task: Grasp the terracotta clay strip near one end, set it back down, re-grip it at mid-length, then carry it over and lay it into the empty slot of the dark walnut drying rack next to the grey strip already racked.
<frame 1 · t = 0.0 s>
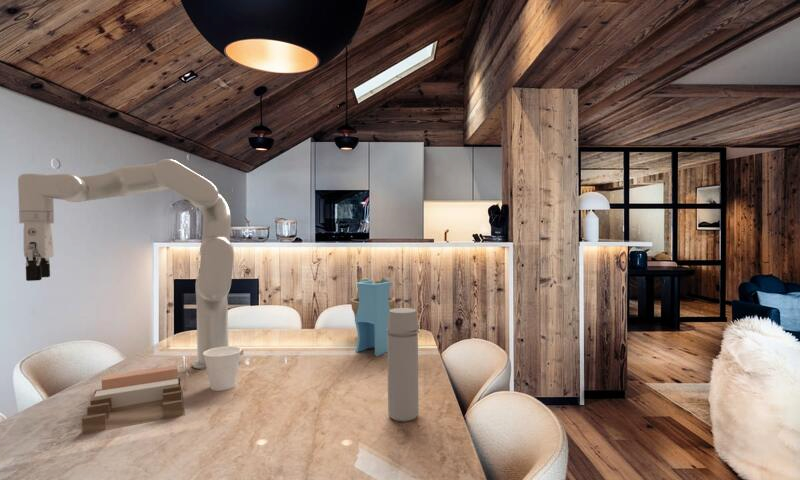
hand: (38, 278, 122), 31 cm above the table, fingers open, 9 cm apart
terracotta strip: (141, 390, 122), on the table
rack: (137, 413, 105), on the table
potted plant: (373, 336, 180), on the table
water bottle: (405, 415, 103), on the table
blue arched stand: (374, 351, 158), on the table
cup: (223, 391, 120), on the table
grey strip: (138, 400, 110), point 1 cm above the table, touching rack
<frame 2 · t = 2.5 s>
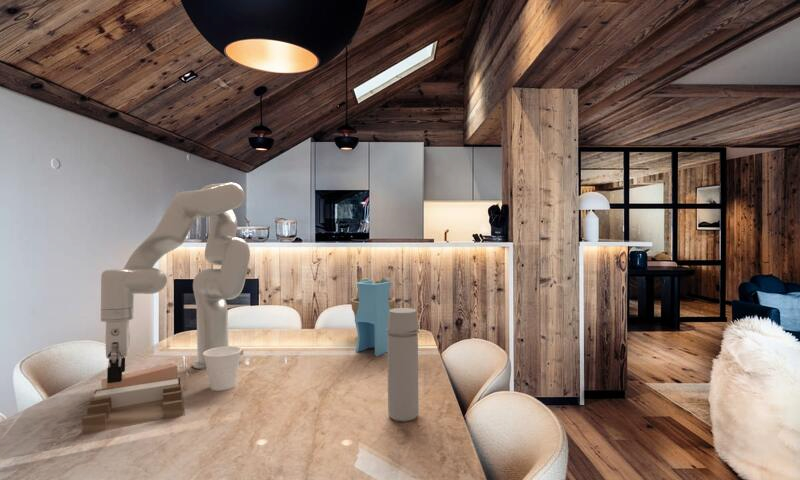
hand: (116, 377, 119), 5 cm above the table, fingers open, 9 cm apart
terracotta strip: (141, 390, 122), on the table, touching gripper
everything else where it was.
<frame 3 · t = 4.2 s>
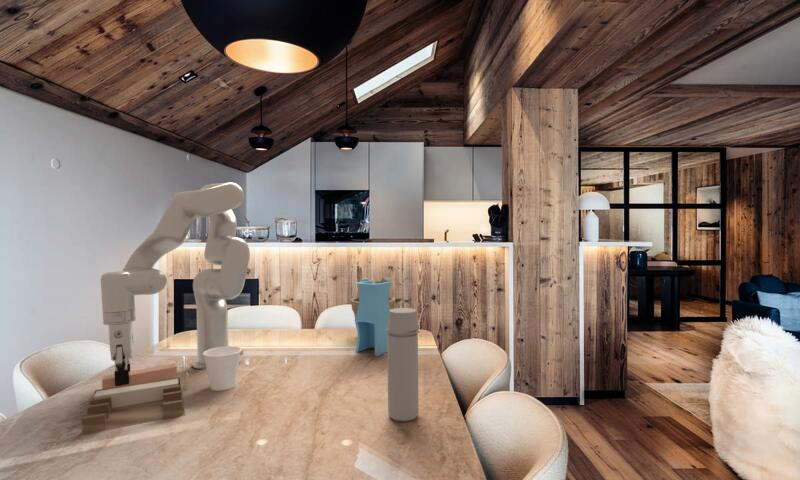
hand: (123, 380, 120), 3 cm above the table, fingers open, 4 cm apart
terracotta strip: (140, 388, 123), on the table, touching gripper
everything else where it was.
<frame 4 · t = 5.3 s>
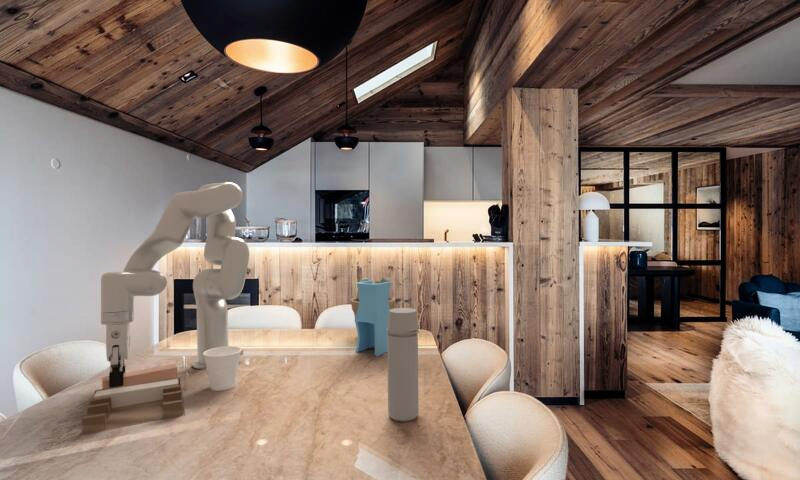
hand: (117, 382, 119), 3 cm above the table, fingers open, 4 cm apart
terracotta strip: (140, 389, 122), on the table
everything else where it was.
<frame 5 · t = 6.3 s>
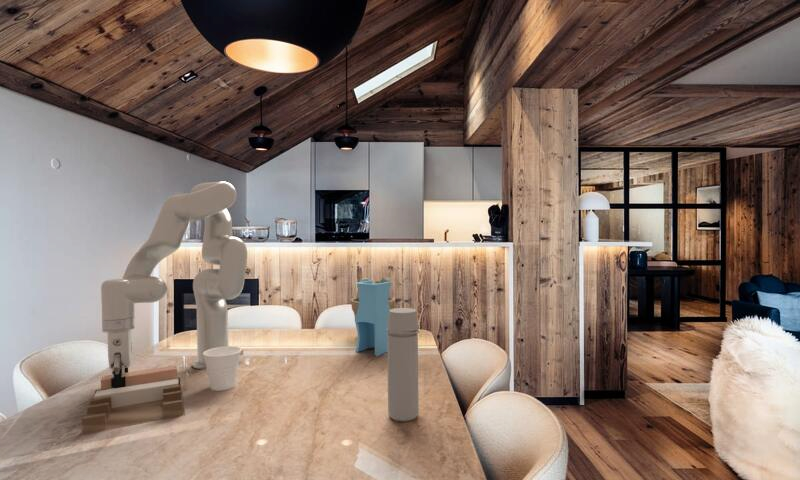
hand: (120, 386, 119), 1 cm above the table, fingers open, 8 cm apart
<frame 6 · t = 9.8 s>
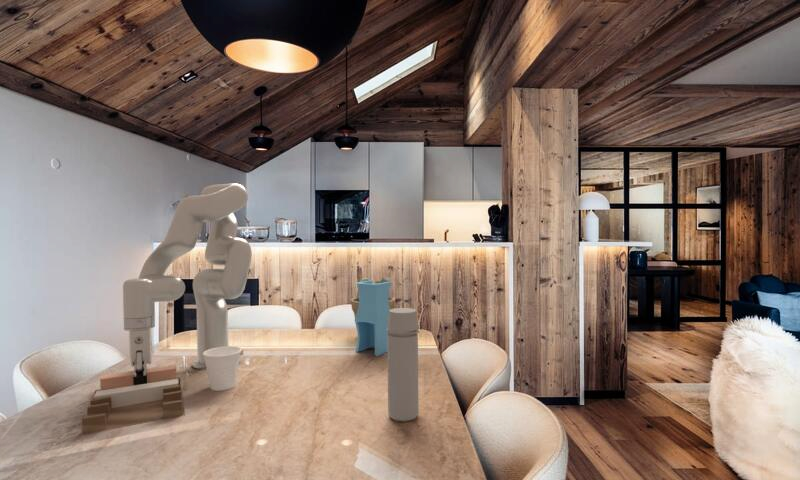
hand: (140, 387, 122), 1 cm above the table, fingers closed on terracotta strip, 4 cm apart
terracotta strip: (140, 389, 122), on the table, touching gripper
everything else where it was.
when the fingers open (3 cm above the table, at t = 15.6 s): terracotta strip drops 1 cm, resting on rack.
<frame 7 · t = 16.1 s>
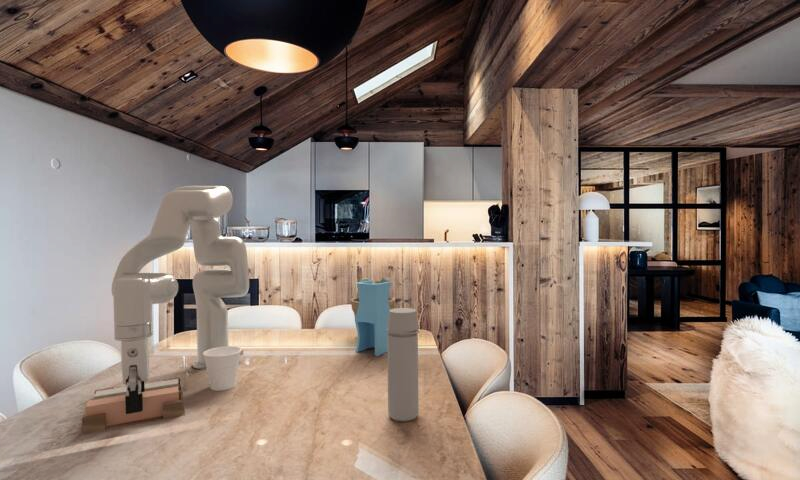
hand: (135, 404, 100), 4 cm above the table, fingers open, 9 cm apart
terracotta strip: (135, 417, 100), point 1 cm above the table, touching rack
everything else where it was.
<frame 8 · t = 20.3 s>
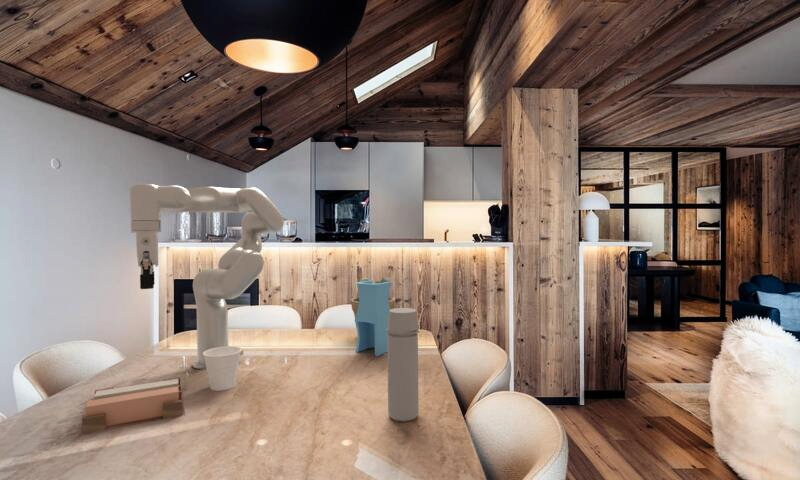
hand: (147, 286, 125), 28 cm above the table, fingers open, 9 cm apart
nothing on the table moved.
at the end: terracotta strip 0.2 cm from the target spot on the rack, point 1.2 cm above the rack's base; terracotta strip tilted 0°; the gripper is holding nothing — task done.
